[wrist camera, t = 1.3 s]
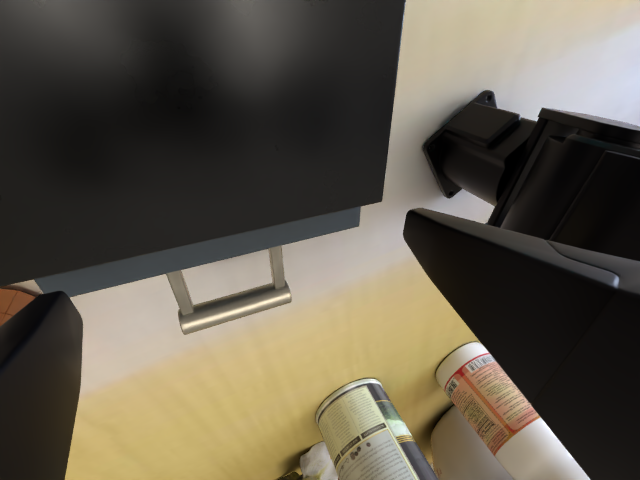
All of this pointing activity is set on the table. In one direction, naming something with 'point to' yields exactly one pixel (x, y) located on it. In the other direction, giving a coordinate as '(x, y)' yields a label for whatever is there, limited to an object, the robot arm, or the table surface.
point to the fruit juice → (504, 417)
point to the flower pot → (12, 303)
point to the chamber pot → (462, 451)
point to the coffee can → (369, 436)
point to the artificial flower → (315, 465)
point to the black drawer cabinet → (185, 121)
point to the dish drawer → (204, 253)
